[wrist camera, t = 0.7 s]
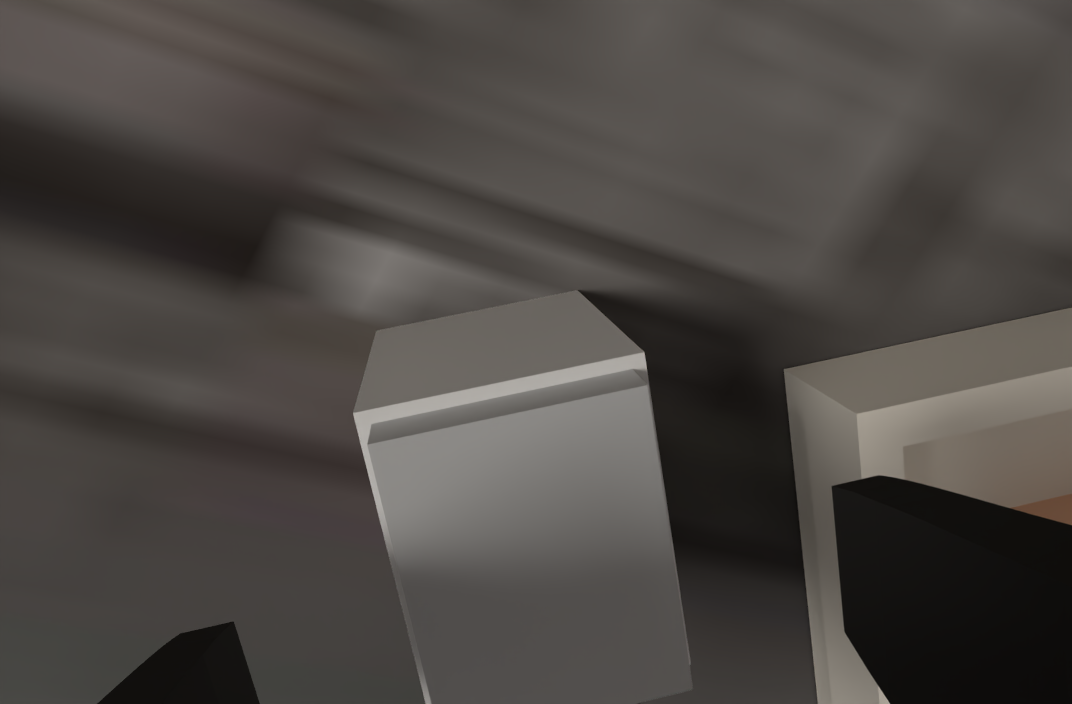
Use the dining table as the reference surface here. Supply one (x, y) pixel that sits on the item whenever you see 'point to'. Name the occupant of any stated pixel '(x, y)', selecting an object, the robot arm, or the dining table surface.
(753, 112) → the dining table surface
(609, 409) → the grey plug
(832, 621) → the walled box
